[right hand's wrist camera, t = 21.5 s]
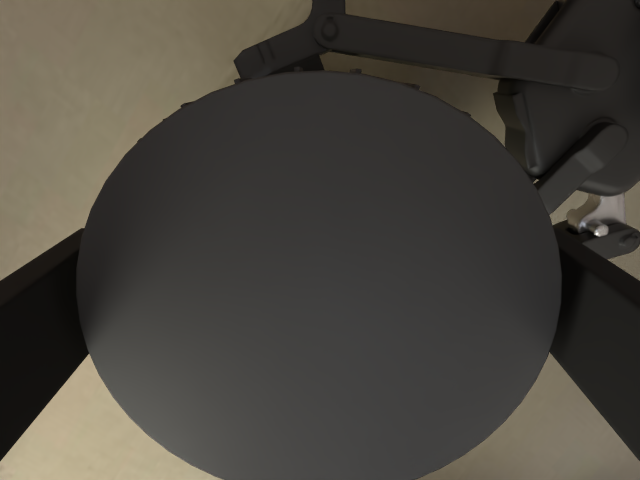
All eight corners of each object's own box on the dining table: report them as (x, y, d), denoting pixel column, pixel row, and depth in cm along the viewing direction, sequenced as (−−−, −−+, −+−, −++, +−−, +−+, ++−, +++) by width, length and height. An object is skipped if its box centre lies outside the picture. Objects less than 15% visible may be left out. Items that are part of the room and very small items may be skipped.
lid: (79, 365, 13) (30, 424, 11) (187, -20, 9) (145, -48, 7) (402, 471, 15) (417, 542, 12) (603, 179, 11) (675, 206, 9)
